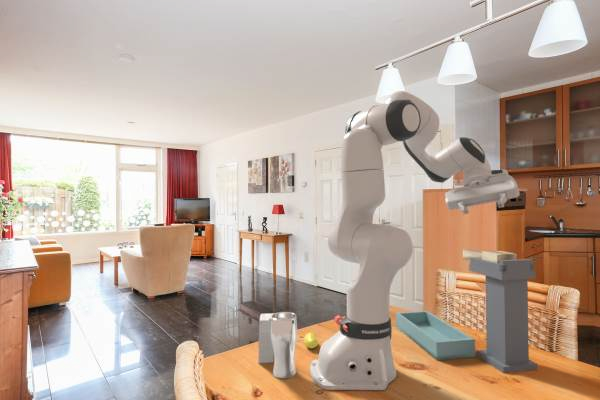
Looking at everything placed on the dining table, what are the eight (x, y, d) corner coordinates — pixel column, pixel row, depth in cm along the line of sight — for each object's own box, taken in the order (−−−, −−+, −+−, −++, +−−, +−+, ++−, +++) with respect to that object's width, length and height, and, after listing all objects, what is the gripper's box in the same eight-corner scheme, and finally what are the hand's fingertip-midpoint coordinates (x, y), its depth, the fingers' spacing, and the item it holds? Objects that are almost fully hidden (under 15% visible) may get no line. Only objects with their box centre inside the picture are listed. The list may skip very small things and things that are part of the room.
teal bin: (436, 360, 95) (436, 342, 95) (395, 326, 120) (395, 312, 120) (475, 356, 97) (474, 339, 97) (427, 324, 122) (426, 310, 122)
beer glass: (282, 364, 93) (281, 309, 93) (302, 371, 89) (302, 314, 89) (265, 374, 88) (265, 316, 88) (286, 382, 84) (286, 322, 84)
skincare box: (259, 354, 100) (259, 313, 100) (275, 353, 100) (274, 312, 100) (258, 364, 93) (257, 320, 94) (274, 363, 94) (273, 319, 94)
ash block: (497, 269, 92) (497, 254, 92) (458, 259, 109) (458, 246, 109) (516, 268, 93) (516, 253, 93) (475, 258, 110) (475, 246, 110)
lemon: (316, 341, 109) (316, 329, 109) (318, 352, 101) (318, 339, 101) (303, 341, 109) (303, 329, 109) (304, 352, 101) (304, 339, 101)
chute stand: (503, 372, 87) (501, 261, 88) (470, 351, 100) (468, 253, 100) (537, 369, 89) (535, 259, 89) (500, 348, 102) (498, 252, 102)
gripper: (442, 184, 114) (442, 208, 103) (512, 167, 104) (520, 192, 93) (447, 199, 117) (448, 223, 106) (516, 184, 106) (524, 210, 96)
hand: (482, 209), depth 99 cm, fingers open, 8 cm apart
